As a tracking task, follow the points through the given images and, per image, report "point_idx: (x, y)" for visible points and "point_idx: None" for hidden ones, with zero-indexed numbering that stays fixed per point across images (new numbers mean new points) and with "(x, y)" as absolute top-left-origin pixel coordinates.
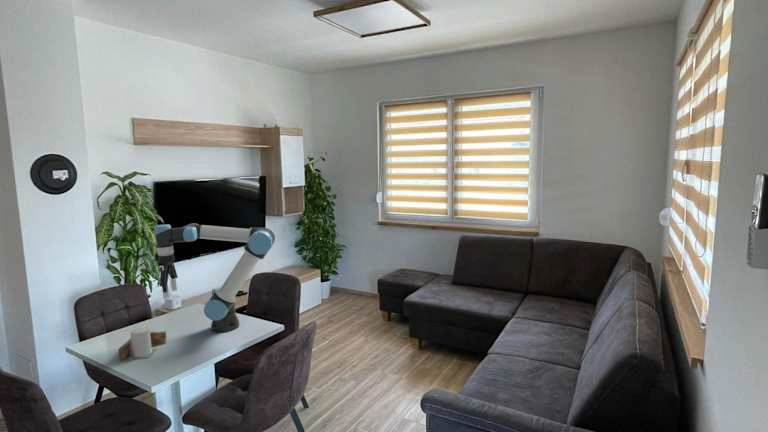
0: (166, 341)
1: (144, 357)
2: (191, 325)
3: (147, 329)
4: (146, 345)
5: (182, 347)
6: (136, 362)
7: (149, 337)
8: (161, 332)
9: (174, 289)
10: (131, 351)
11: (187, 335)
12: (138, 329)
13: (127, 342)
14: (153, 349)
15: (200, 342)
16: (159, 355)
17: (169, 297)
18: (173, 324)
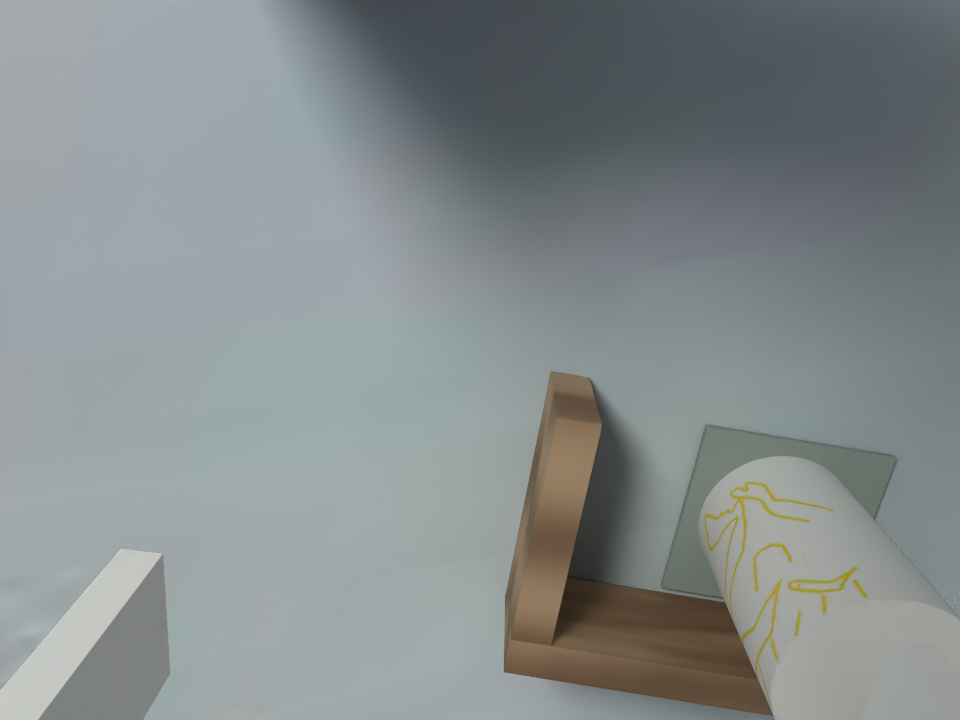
0: (554, 374)
1: (880, 491)
2: (118, 190)
3: (900, 620)
4: (882, 529)
5: (773, 190)
6: (941, 531)
7: (874, 544)
8: (589, 453)
9: (149, 634)
10: (725, 615)
11: (431, 189)
12: (842, 710)
13: (749, 700)
14: (716, 453)
15: (711, 2)
16: (879, 377)
17: (896, 642)
18: (52, 387)
